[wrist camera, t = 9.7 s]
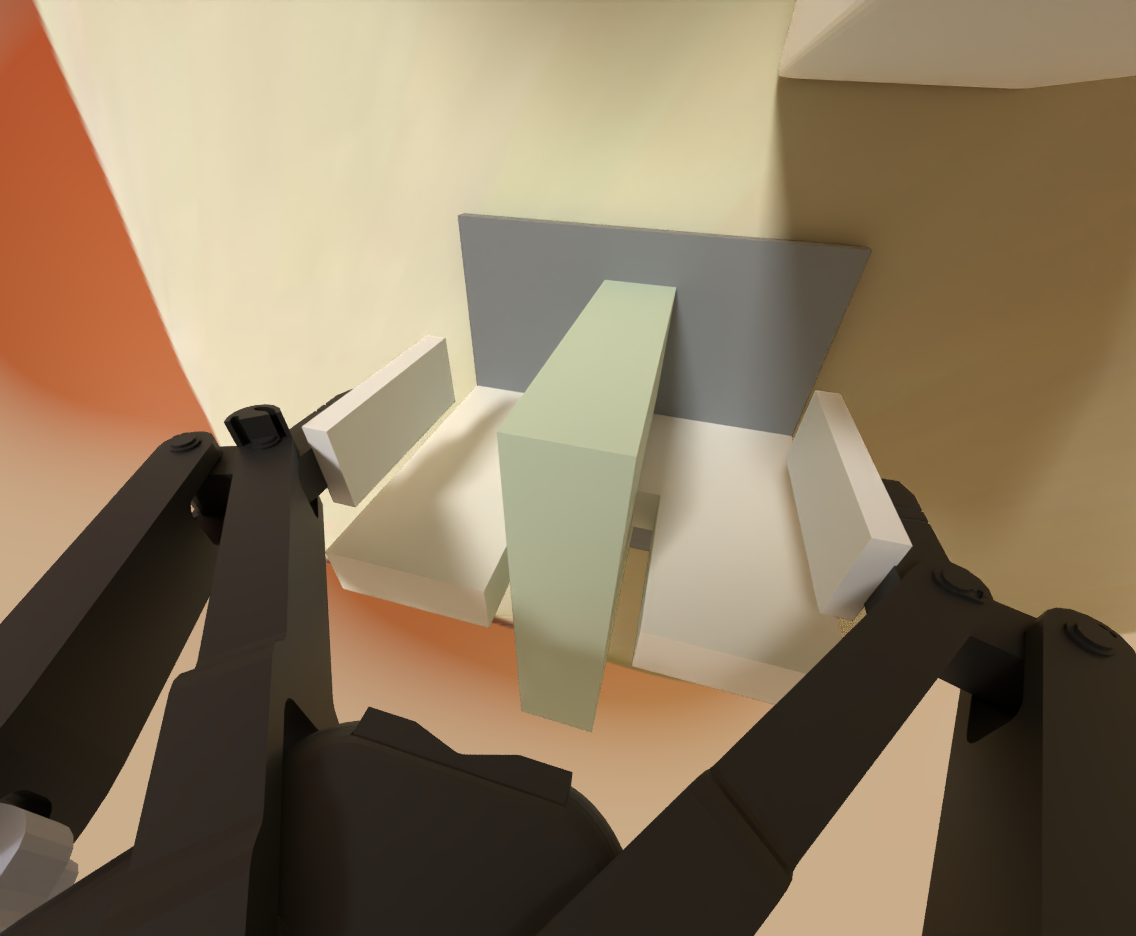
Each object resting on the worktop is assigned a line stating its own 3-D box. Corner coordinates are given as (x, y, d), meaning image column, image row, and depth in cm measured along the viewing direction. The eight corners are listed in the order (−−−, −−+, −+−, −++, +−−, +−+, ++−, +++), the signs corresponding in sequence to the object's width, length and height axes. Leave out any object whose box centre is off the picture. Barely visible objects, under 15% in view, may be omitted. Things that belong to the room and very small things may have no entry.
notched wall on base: (495, 510, 30) (393, 690, 20) (463, 213, 19) (204, 304, 9) (733, 562, 27) (744, 799, 18) (866, 247, 16) (1099, 431, 6)
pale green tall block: (604, 279, 18) (496, 431, 9) (676, 287, 18) (636, 457, 9) (586, 514, 27) (521, 711, 18) (633, 524, 27) (591, 732, 17)
